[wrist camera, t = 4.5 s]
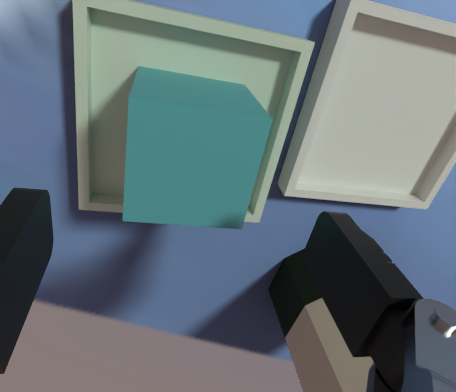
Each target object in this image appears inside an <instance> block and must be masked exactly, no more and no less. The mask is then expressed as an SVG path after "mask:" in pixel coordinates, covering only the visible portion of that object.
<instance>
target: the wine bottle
mask: <svg viewBox="0 0 456 392" xmlns="http://www.w3.org/2000/svg"><path fill="white" fill-rule="evenodd" d="M304 252H305V249H303V250H301V251H299V252H297V253H295V254H293V255H291V256H289V257H287V258H285V259H284V261H283V262H282V264H281V266H280V268H279V270H278V272H277V274H276V276H275V278H274V280H273V282H272V284H271V285H270V287H269V289H268V290H269V293H270V296H271V298H272V301H273V304H274V307H275V310H276V313H277V316H278V319H279V322H280V325H281V328H282V331H283V334H284V336H285V339H286V342H287V345H288V348H289V351H290V354H291V357H292V360H293V363H294V366H295V369H296V372H297V374H298V377H299V380H300V383H301V386H302V389H303V392H366V388H367V380H368V372H369V369H370V367H371V365H372V364H373V360H372V358H371V357H353V356H352V355H351V353H350V351H349V349H348V347H347V345H346V343H345V341H344V339H343V337H342V335H341V333H340V331H339V329H338V327H337V326H336V324H335V322H334V320H333V318H332V316H331V314H330V312H329V310H328V308H327V306H326V304H325V302H324V300H323V299H322V297H321V295H320V293H319V291H318V289H317V287H316V285H315V283H314V281H313V279H312V277H311V275H310V273H309V272H308V270H307V268H306V265H305V261H304Z"/></svg>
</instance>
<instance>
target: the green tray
mask: <svg viewBox="0 0 456 392" xmlns="http://www.w3.org/2000/svg"><path fill="white" fill-rule="evenodd" d="M72 2H73V34H74V67H75V100H76V132H77V165H78V198H79V210H90V211H104V212H118V213H123V200H124V181H125V161H126V141H127V122H128V102H129V95H130V92H131V89H132V85H133V82H134V79H135V76H136V73H137V70H138V67H139V66H142V67H148V68H154V69H159V70H165V71H171V72H176V73H182V74H188V75H193V76H199V77H204V78H210V79H216V80H221V81H227V82H233V83H238V84H244V85H245V86H246V87H247V88H248V89H249V91H250V92H251V93H252V94H253V96H254V97H255V98H256V99H257V100H258V102H259V103H260V104H261V105H262V107H263V108H264V109H265V110H266V112H267V113H268V114H269V115H270V116H271V118H272V119H273V120H272V124H271V128H270V131H269V135H268V138H267V142H266V145H265V149H264V152H263V156H262V160H261V163H260V167H259V170H258V174H257V177H256V181H255V184H254V188H253V192H252V195H251V199H250V202H249V206H248V209H247V213H246V216H245V220H244V222H258V223H259V222H260V218H261V215H262V212H263V209H264V205H265V202H266V199H267V196H268V193H269V189H270V186H271V183H272V180H273V176H274V173H275V170H276V167H277V164H278V160H279V157H280V154H281V151H282V147H283V144H284V141H285V138H286V135H287V131H288V128H289V125H290V122H291V118H292V115H293V112H294V109H295V106H296V102H297V99H298V96H299V93H300V89H301V86H302V83H303V80H304V77H305V73H306V70H307V67H308V64H309V60H310V57H311V54H312V51H313V48H314V44H315V42H313V41H310V40H307V39H305V38H301V37H296V36H292V35H287V34H283V33H279V32H274V31H270V30H265V29H261V28H256V27H252V26H247V25H243V24H238V23H234V22H229V21H225V20H220V19H216V18H211V17H207V16H203V15H198V14H194V13H189V12H185V11H180V10H176V9H171V8H167V7H162V6H158V5H153V4H149V3H144V2H140V1H136V0H72Z"/></svg>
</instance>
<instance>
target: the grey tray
mask: <svg viewBox="0 0 456 392" xmlns="http://www.w3.org/2000/svg"><path fill="white" fill-rule="evenodd" d="M455 163H456V24H454V23H451V22H447V21H443V20H439V19H436V18H432V17H428V16H424V15H421V14H417V13H413V12H410V11H406V10H402V9H398V8H395V7H391V6H387V5H384V4H380V3H376V2H372V1H369V0H336V2H335V5H334V9H333V12H332V15H331V18H330V21H329V24H328V27H327V30H326V34H325V37H324V40H323V43H322V46H321V49H320V52H319V55H318V58H317V62H316V65H315V68H314V71H313V74H312V77H311V80H310V83H309V86H308V90H307V93H306V96H305V99H304V102H303V105H302V108H301V111H300V115H299V118H298V121H297V124H296V127H295V130H294V133H293V136H292V139H291V143H290V146H289V149H288V152H287V155H286V158H285V161H284V164H283V167H282V171H281V174H280V177H279V180H278V183H277V184H278V186H279V187H280V189H281V191H282V193H283V194H284V196H291V197H302V198H312V199H323V200H334V201H344V202H355V203H365V204H376V205H387V206H397V207H408V208H418V209H428V207H429V205H430V204H431V202H432V200H433V199H434V197H435V195H436V194H437V192H438V191H439V189H440V187H441V186H442V184H443V182H444V181H445V179H446V178H447V176H448V174H449V173H450V171H451V169H452V168H453V166H454V164H455Z"/></svg>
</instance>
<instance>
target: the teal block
mask: <svg viewBox="0 0 456 392" xmlns="http://www.w3.org/2000/svg"><path fill="white" fill-rule="evenodd" d="M272 120H273V119H272V118H271V116H270V115H269V114H268V113H267V112H266V110H265V109H264V108H263V107H262V105H261V104H260V103H259V102H258V100H257V99H256V98H255V97H254V96H253V94H252V93H251V92H250V91H249V89H248V88H247V87H246V86H245V85H244V84H238V83H233V82H227V81H221V80H216V79H210V78H204V77H199V76H193V75H188V74H182V73H176V72H171V71H165V70H159V69H154V68H148V67H142V66H139V67H138V70H137V73H136V76H135V79H134V82H133V85H132V89H131V92H130V95H129V102H128V122H127V141H126V161H125V181H124V200H123V220H122V221H126V222H142V223H157V224H172V225H187V226H203V227H218V228H233V229H242V227H243V224H244V220H245V216H246V213H247V209H248V206H249V202H250V199H251V195H252V192H253V188H254V184H255V181H256V177H257V174H258V170H259V167H260V163H261V160H262V156H263V152H264V149H265V145H266V142H267V138H268V135H269V131H270V128H271V124H272Z"/></svg>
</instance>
